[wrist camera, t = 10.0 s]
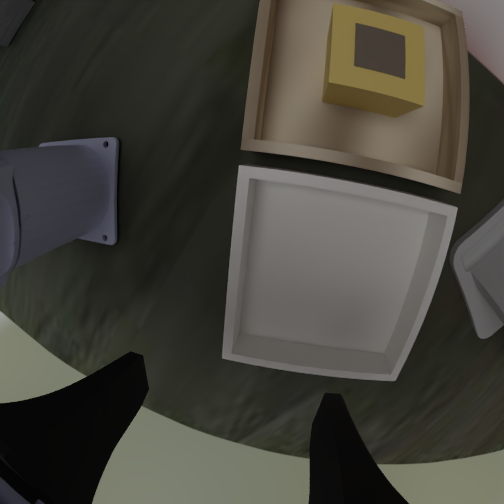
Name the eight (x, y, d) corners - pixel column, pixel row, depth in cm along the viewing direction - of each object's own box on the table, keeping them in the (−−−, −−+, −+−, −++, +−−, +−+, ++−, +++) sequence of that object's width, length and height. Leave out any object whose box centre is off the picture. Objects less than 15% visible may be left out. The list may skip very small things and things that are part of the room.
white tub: (232, 333, 21) (222, 358, 18) (249, 164, 17) (239, 165, 14) (386, 355, 19) (395, 381, 17) (436, 199, 15) (457, 207, 12)
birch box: (251, 151, 17) (240, 149, 14) (271, -12, 12) (265, -36, 10) (438, 187, 15) (460, 193, 12) (444, 26, 11) (461, 11, 8)
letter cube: (321, 102, 14) (328, 82, 10) (327, 37, 13) (333, 2, 9) (395, 117, 14) (424, 105, 10) (397, 53, 12) (423, 26, 8)
